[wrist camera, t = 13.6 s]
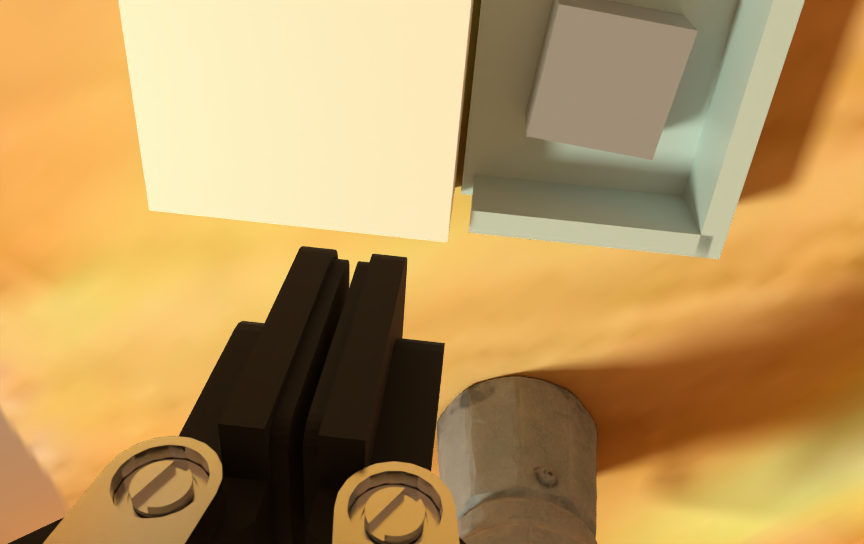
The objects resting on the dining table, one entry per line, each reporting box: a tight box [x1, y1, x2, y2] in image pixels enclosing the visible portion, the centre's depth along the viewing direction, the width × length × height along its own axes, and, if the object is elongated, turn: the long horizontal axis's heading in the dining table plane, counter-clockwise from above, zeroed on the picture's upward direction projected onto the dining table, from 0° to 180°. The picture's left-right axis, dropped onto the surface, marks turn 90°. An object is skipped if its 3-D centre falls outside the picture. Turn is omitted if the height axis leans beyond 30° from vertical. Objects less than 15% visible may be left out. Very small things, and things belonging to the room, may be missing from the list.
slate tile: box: [525, 0, 698, 160], centre depth 28 cm, size 5×5×2 cm
